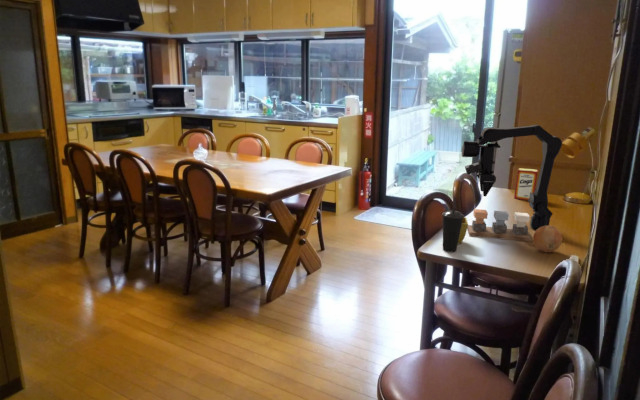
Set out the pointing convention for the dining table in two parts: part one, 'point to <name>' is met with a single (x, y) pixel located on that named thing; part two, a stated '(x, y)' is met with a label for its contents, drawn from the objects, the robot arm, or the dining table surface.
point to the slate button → (500, 217)
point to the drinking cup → (451, 228)
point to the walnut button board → (499, 231)
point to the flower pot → (463, 230)
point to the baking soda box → (525, 183)
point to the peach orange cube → (480, 216)
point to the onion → (547, 238)
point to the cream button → (521, 219)
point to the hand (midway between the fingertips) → (483, 193)
